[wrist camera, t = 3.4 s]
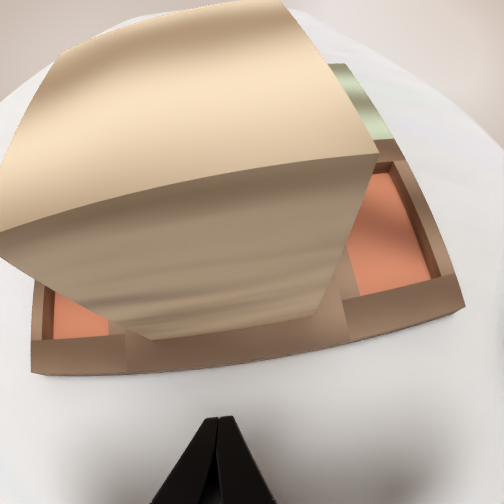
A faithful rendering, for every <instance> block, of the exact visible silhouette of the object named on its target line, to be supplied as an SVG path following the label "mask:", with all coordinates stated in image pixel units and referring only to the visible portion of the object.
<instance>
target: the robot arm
mask: <svg viewBox="0 0 504 504" xmlns="http://www.w3.org/2000/svg"><path fill="white" fill-rule="evenodd" d="M150 504H277V502H276V500H275V499H274V497H273V495H272V493H271V491H270V489H269V488H268V486H267V484H266V482H265V480H264V478H263V476H262V474H261V472H260V470H259V468H258V466H257V464H256V462H255V460H254V458H253V456H252V454H251V452H250V450H249V448H248V446H247V444H246V442H245V440H244V438H243V436H242V434H241V432H240V429H239V427H238V425H237V423H236V421H235V419H234V417H233V416H223V417H220V419H219V418H218V417H213V418H206V419H205V420H204V421H203V423H202V424H201V426H200V428H199V429H198V431H197V432H196V434H195V436H194V437H193V439H192V440H191V442H190V443H189V445H188V447H187V448H186V450H185V451H184V453H183V454H182V456H181V458H180V459H179V461H178V462H177V464H176V465H175V467H174V468H173V470H172V471H171V473H170V474H169V476H168V477H167V479H166V480H165V482H164V483H163V485H162V486H161V488H160V489H159V491H158V492H157V494H156V495H155V497H154V498H153V500H152V503H150Z"/></svg>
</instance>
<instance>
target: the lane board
mask: <svg viewBox="0 0 504 504" xmlns="http://www.w3.org/2000/svg"><path fill="white" fill-rule="evenodd" d="M328 66H329V67H330V69H331V70H332V72H333V73H334V75H335V76H336V78H337V79H338V81H339V83H340V84H341V86H342V87H343V89H344V90H345V92H346V94H347V95H348V97H349V99H350V100H351V102H352V104H353V105H354V107H355V109H356V110H357V112H358V114H359V116H360V117H361V119H362V121H363V123H364V125H365V126H366V128H367V130H368V132H369V134H370V136H371V137H372V139H373V141H374V143H375V145H376V147H377V149H378V151H379V156H378V159H377V162H376V165H375V168H374V171H373V173H372V176H371V179H370V182H369V184H368V187H367V190H366V193H365V195H364V198H363V201H362V203H361V206H360V209H359V211H358V214H357V216H356V219H355V221H354V224H353V227H352V229H351V232H350V234H349V237H348V239H347V241H346V244H345V246H344V249H343V251H342V254H341V256H340V258H339V261H338V263H337V265H336V268H335V270H334V272H333V275H332V277H331V279H330V281H329V284H328V286H327V288H326V291H325V293H324V295H323V297H322V299H321V302H320V304H319V306H318V308H317V310H316V312H315V315H314V316H311V317H306V318H301V319H295V320H290V321H284V322H279V323H273V324H267V325H261V326H255V327H249V328H243V329H236V330H230V331H223V332H216V333H209V334H201V335H194V336H186V337H178V338H169V339H160V340H150V339H147V338H145V337H143V336H141V335H139V334H137V333H134V332H132V331H130V330H128V329H126V328H124V327H122V326H120V325H118V324H116V323H114V322H112V321H110V320H108V319H106V318H104V317H102V316H100V315H98V314H96V313H94V312H92V311H90V310H88V309H86V308H84V307H82V306H81V305H79V304H77V303H75V302H73V301H71V300H70V299H68V298H66V297H64V296H62V295H61V294H59V293H57V292H55V291H54V290H52V289H50V288H49V287H47V286H45V285H43V284H42V283H40V282H38V281H37V280H35V283H34V293H33V305H32V321H31V373H36V374H41V375H50V376H104V375H130V374H147V373H161V372H173V371H184V370H194V369H203V368H212V367H220V366H228V365H235V364H242V363H249V362H255V361H262V360H268V359H274V358H280V357H285V356H291V355H296V354H301V353H306V352H311V351H316V350H321V349H326V348H330V347H335V346H339V345H344V344H348V343H352V342H356V341H360V340H364V339H368V338H372V337H376V336H380V335H384V334H387V333H391V332H395V331H398V330H402V329H405V328H409V327H412V326H416V325H419V324H422V323H425V322H429V321H432V320H435V319H438V318H441V317H444V316H447V315H450V314H453V313H455V312H457V311H459V310H460V309H462V308H464V307H466V306H465V303H464V299H463V296H462V293H461V289H460V286H459V283H458V280H457V277H456V274H455V271H454V268H453V266H452V263H451V260H450V257H449V255H448V252H447V249H446V247H445V244H444V242H443V239H442V237H441V234H440V232H439V229H438V227H437V224H436V222H435V220H434V217H433V215H432V213H431V210H430V208H429V206H428V204H427V202H426V199H425V197H424V195H423V193H422V191H421V189H420V187H419V185H418V183H417V181H416V179H415V177H414V175H413V173H412V171H411V169H410V167H409V165H408V163H407V161H406V159H405V157H404V156H403V154H402V152H401V150H400V148H399V146H398V145H397V143H396V141H395V139H394V138H393V136H392V134H391V132H390V131H389V129H388V127H387V126H386V124H385V122H384V121H383V119H382V117H381V116H380V114H379V113H378V111H377V109H376V108H375V106H374V105H373V103H372V102H371V100H370V99H369V97H368V96H367V94H366V93H365V91H364V90H363V88H362V87H361V85H360V84H359V82H358V81H357V79H356V78H355V77H354V75H353V74H352V72H351V71H350V70H349V68H348V67H347V65H346V64H328Z"/></svg>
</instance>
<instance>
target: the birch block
mask: <svg viewBox="0 0 504 504" xmlns="http://www.w3.org/2000/svg"><path fill="white" fill-rule="evenodd" d="M378 156H379V151H378V149H377V147H376V145H375V143H374V141H373V139H372V137H371V136H370V134H369V132H368V130H367V128H366V126H365V125H364V123H363V121H362V119H361V117H360V116H359V114H358V112H357V110H356V109H355V107H354V105H353V104H352V102H351V100H350V99H349V97H348V95H347V94H346V92H345V90H344V89H343V87H342V86H341V84H340V83H339V81H338V79H337V78H336V76H335V75H334V73H333V72H332V70H331V69H330V67H329V66H328V64H327V63H326V61H325V60H324V58H323V57H322V55H321V54H320V52H319V51H318V50H317V48H316V47H315V45H314V44H313V43H312V41H311V40H310V38H309V37H308V36H307V34H306V33H305V32H304V30H303V29H302V28H301V26H300V25H299V24H298V23H297V21H296V20H295V19H294V17H293V16H292V15H291V14H290V12H289V11H288V10H287V9H286V8H285V6H284V5H283V4H282V3H281V1H280V0H242V1H233V2H227V3H220V4H214V5H208V6H203V7H197V8H192V9H188V10H183V11H179V12H174V13H170V14H166V15H162V16H159V17H155V18H151V19H148V20H145V21H141V22H138V23H135V24H132V25H128V26H125V27H122V28H120V29H117V30H114V31H111V32H108V33H106V34H103V35H100V36H98V37H95V38H93V39H90V40H88V41H85V42H83V43H81V44H78V45H76V46H74V47H72V48H69V49H67V50H65V51H63V52H61V54H60V55H59V57H58V58H57V60H56V61H55V63H54V64H53V66H52V67H51V69H50V70H49V72H48V73H47V75H46V77H45V78H44V80H43V82H42V83H41V85H40V87H39V88H38V90H37V92H36V93H35V95H34V97H33V99H32V101H31V102H30V104H29V106H28V108H27V110H26V112H25V114H24V116H23V118H22V120H21V122H20V124H19V126H18V128H17V130H16V132H15V134H14V136H13V138H12V140H11V143H10V145H9V147H8V149H7V152H6V154H5V156H4V159H3V161H2V164H1V166H0V257H1V258H2V259H4V260H5V261H7V262H8V263H10V264H11V265H13V266H14V267H16V268H18V269H19V270H21V271H22V272H24V273H25V274H27V275H29V276H30V277H32V278H34V279H35V280H37V281H38V282H40V283H42V284H43V285H45V286H47V287H49V288H50V289H52V290H54V291H55V292H57V293H59V294H61V295H62V296H64V297H66V298H68V299H70V300H71V301H73V302H75V303H77V304H79V305H81V306H82V307H84V308H86V309H88V310H90V311H92V312H94V313H96V314H98V315H100V316H102V317H104V318H106V319H108V320H110V321H112V322H114V323H116V324H118V325H120V326H122V327H124V328H126V329H128V330H130V331H132V332H134V333H137V334H139V335H141V336H143V337H145V338H147V339H150V340H160V339H169V338H178V337H186V336H194V335H201V334H209V333H216V332H223V331H230V330H236V329H243V328H249V327H255V326H261V325H267V324H273V323H279V322H284V321H290V320H295V319H301V318H306V317H311V316H314V315H315V312H316V310H317V308H318V306H319V304H320V302H321V299H322V297H323V295H324V293H325V291H326V288H327V286H328V284H329V281H330V279H331V277H332V275H333V272H334V270H335V268H336V265H337V263H338V261H339V258H340V256H341V254H342V251H343V249H344V246H345V244H346V241H347V239H348V237H349V234H350V232H351V229H352V227H353V224H354V221H355V219H356V216H357V214H358V211H359V209H360V206H361V203H362V201H363V198H364V195H365V193H366V190H367V187H368V184H369V182H370V179H371V176H372V173H373V171H374V168H375V165H376V162H377V159H378Z"/></svg>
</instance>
